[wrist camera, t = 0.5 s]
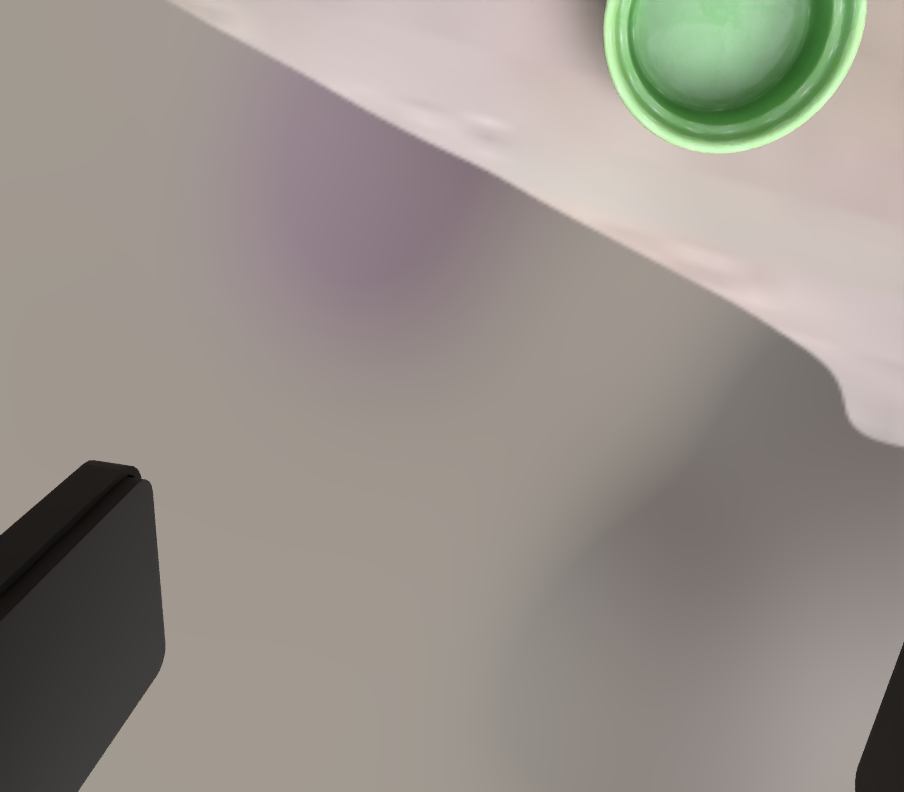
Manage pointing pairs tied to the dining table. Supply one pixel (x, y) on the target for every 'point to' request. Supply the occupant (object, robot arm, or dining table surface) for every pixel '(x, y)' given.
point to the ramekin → (729, 65)
